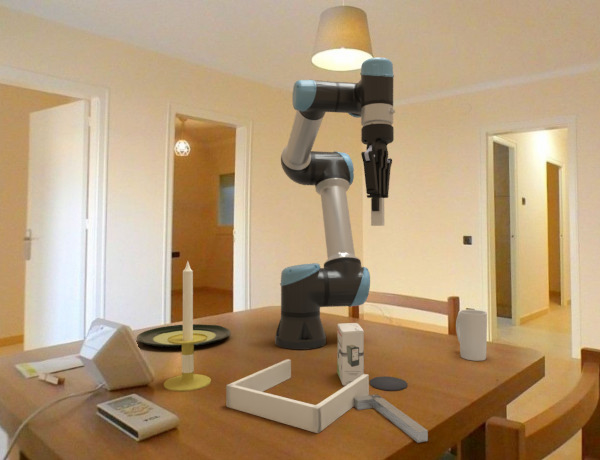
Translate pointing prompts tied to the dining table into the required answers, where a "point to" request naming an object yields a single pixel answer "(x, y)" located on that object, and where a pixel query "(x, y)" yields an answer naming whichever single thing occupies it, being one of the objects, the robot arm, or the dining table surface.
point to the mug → (472, 334)
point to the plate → (163, 333)
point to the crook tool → (393, 416)
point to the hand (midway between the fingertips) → (377, 225)
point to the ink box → (350, 352)
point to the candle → (187, 343)
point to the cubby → (289, 411)
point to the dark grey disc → (388, 383)
